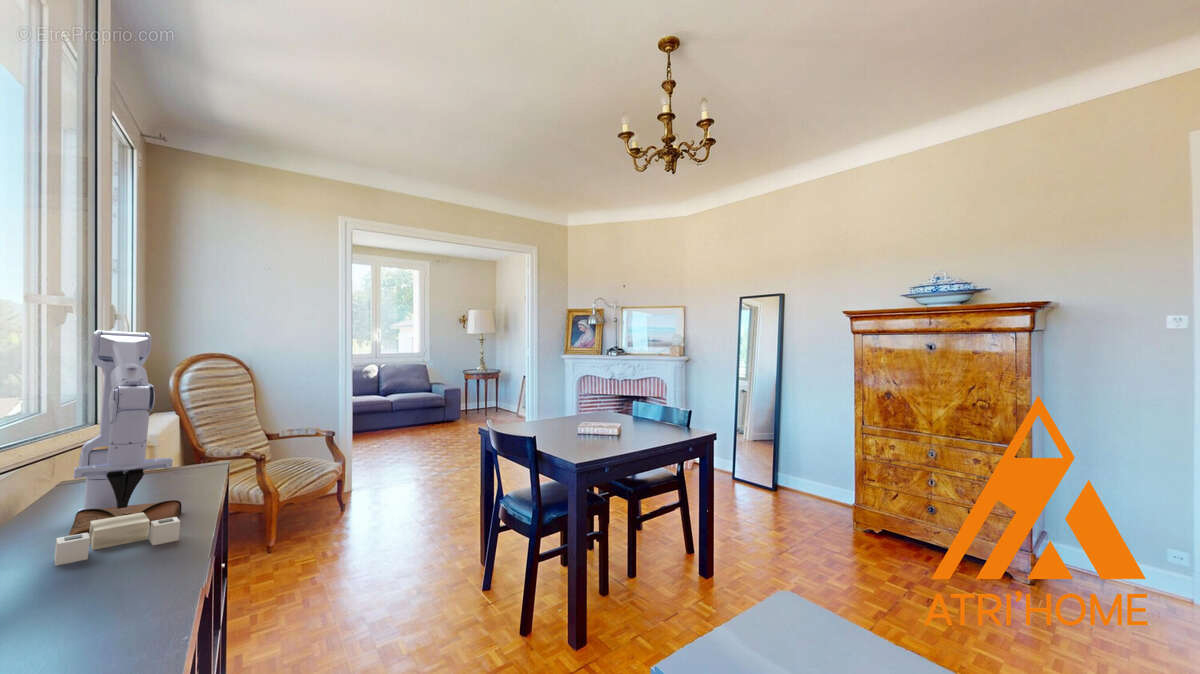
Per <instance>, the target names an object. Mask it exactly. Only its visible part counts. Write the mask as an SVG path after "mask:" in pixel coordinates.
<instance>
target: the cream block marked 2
mask: <svg viewBox="0 0 1200 674" xmlns="http://www.w3.org/2000/svg"><path fill="white" fill-rule="evenodd" d="M180 528H181V520H180V519H179V517H178V518H177V517H173V518H167V519H161V520H156V521H151V525H150V527H149V538H148V540H149V542H150V544H151V545H152V546H156V545H157V546H158V545H162V544H168V543H171V542H172V543H173V542H177V541H179V539H180Z"/></svg>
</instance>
